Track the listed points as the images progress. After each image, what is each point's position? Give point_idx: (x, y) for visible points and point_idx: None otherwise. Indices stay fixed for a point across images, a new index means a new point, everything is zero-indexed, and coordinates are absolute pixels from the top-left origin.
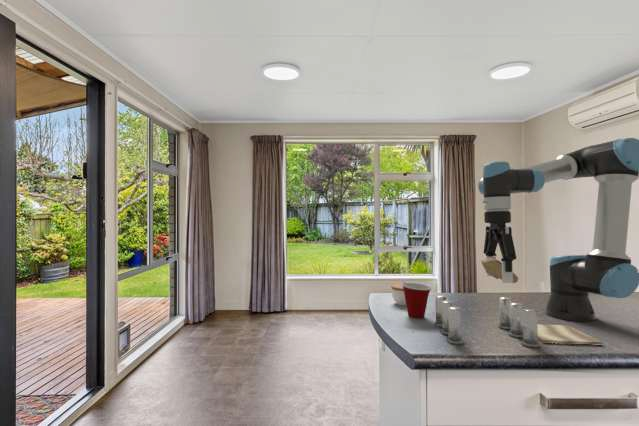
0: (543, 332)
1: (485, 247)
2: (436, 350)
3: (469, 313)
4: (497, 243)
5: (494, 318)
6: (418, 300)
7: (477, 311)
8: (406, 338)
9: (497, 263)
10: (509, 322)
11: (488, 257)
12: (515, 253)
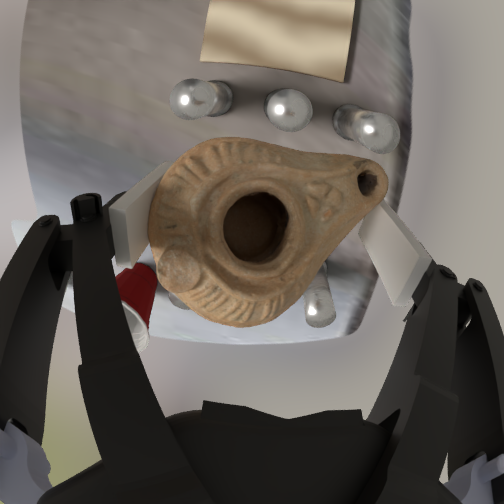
0: (284, 38)
1: (60, 304)
2: (341, 307)
3: (90, 143)
4: (125, 317)
5: (127, 91)
6: (150, 310)
7: (72, 116)
8: (280, 329)
9: (306, 269)
10: (226, 95)
11: (134, 259)
12: (492, 305)
